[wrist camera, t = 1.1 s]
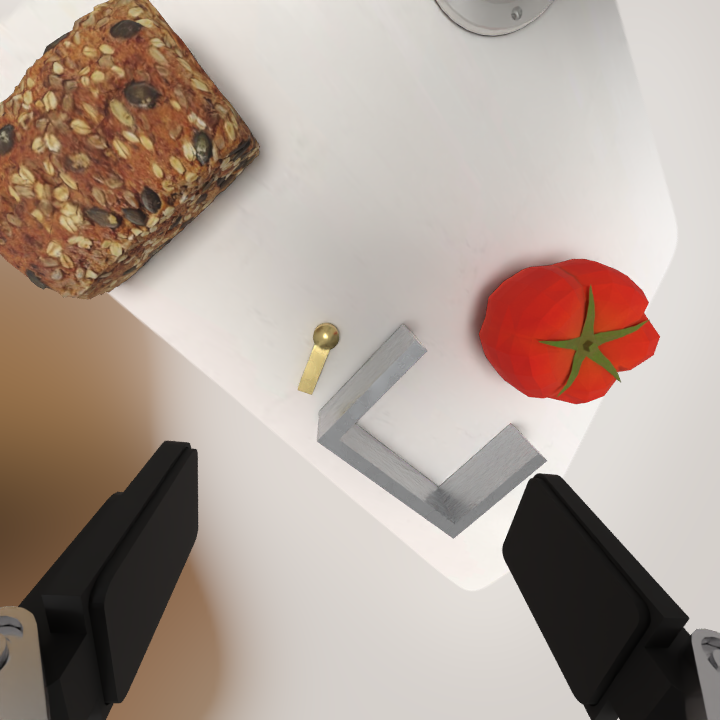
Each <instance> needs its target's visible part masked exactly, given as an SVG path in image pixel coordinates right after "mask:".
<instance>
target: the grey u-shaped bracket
mask: <svg viewBox="0 0 720 720" xmlns="http://www.w3.org/2000/svg"><path fill="white" fill-rule="evenodd" d="M426 352H427V350H426V349H425V347H424V346H423V345H422V344H421V342H420V341H419V340H418V339H417V338H416V336H415V335H414V334H413V333H412V332H411V331H410V330H409V329H408V328H407V327H406V326H405V325H404V324H402V325H401V326H400V327H399V328H398V329H397V330H396V331H395V333H394V334H393V335H392V336H391V337H390V338H389V339H388V340H387V341H386V342H385V343H384V344H383V345H382V346H381V347H380V348H379V349H378V350H377V351H376V352H375V353H374V355H373V356H372V357H371V358H370V359H369V360H368V361H367V362H366V363H365V364H364V365H363V366H362V367H361V368H360V369H359V370H358V371H357V372H356V373H355V374H354V375H353V377H352V378H351V379H350V380H349V381H348V382H347V383H346V384H345V385H344V386H343V387H342V388H341V389H340V390H339V391H338V392H337V393H336V394H335V395H334V396H333V398H332V399H331V400H330V401H329V402H328V403H327V404H326V405H325V406H324V407H323V408H322V409H321V410H320V411H319V421H318V435H317V442H319V443H320V444H322V445H323V446H324V447H326V448H327V449H329V450H330V451H331V452H333V453H334V454H336V455H337V456H338V457H340V458H341V459H343V460H344V461H345V462H347V463H348V464H350V465H351V466H352V467H354V468H355V469H357V470H358V471H359V472H361V473H362V474H364V475H365V476H366V477H368V478H369V479H371V480H372V481H373V482H375V483H376V484H378V485H379V486H380V487H382V488H383V489H385V490H386V491H387V492H389V493H390V494H392V495H393V496H394V497H396V498H397V499H399V500H400V501H401V502H403V503H404V504H406V505H407V506H408V507H410V508H411V509H413V510H414V511H416V512H417V513H418V514H420V515H421V516H423V517H424V518H425V519H427V520H428V521H430V522H431V523H432V524H434V525H435V526H437V527H438V528H439V529H441V530H442V531H444V532H445V533H446V534H448V535H449V536H451V537H452V538H453V539H454V538H455V537H456V536H457V535H458V534H460V533H461V532H462V531H463V530H465V529H466V528H467V527H468V526H469V525H471V524H472V523H473V522H474V521H475V520H477V519H478V518H479V517H480V516H481V515H483V514H484V513H485V512H486V511H487V510H489V509H490V508H491V507H492V506H493V505H495V504H496V503H497V502H498V501H499V500H501V499H502V498H503V497H504V496H505V495H507V494H508V493H509V492H510V491H511V490H513V489H514V488H515V487H516V486H517V485H519V484H520V483H521V482H522V481H523V480H525V479H526V478H527V477H528V476H529V475H531V474H532V473H533V472H534V471H535V470H537V469H538V468H539V467H540V466H541V465H543V464H544V463H545V462H546V461H547V460H546V459H545V458H544V457H543V456H542V455H541V454H540V453H539V451H538V450H537V449H536V448H535V447H534V446H533V445H532V444H531V443H530V442H529V441H528V440H527V439H526V438H525V437H524V436H523V435H522V434H521V433H520V432H519V430H517V429H516V428H515V427H514V426H513V425H512V424H509V425H508V426H507V427H506V428H505V429H504V430H503V431H502V432H500V433H499V434H498V435H497V436H496V437H495V438H494V439H493V440H491V441H490V442H489V443H488V444H487V445H486V446H485V447H483V448H482V449H481V450H480V451H479V452H478V453H477V454H476V455H474V456H473V457H472V458H471V459H470V460H469V461H468V462H466V463H465V464H464V465H463V466H462V467H461V468H460V469H459V470H457V471H456V472H455V473H454V474H453V475H452V476H451V477H450V478H448V479H447V480H446V481H445V482H444V483H443V484H442V485H440V486H439V487H438V486H437V485H436V484H434V483H433V482H432V481H430V480H429V479H428V478H426V477H425V476H424V475H422V474H421V473H420V472H419V471H417V470H416V469H415V468H413V467H412V466H411V465H409V464H408V463H407V462H405V461H404V460H403V459H401V458H400V457H399V456H398V455H396V454H395V453H394V452H392V451H391V450H390V449H388V448H387V447H386V446H384V445H383V444H382V443H380V442H379V441H378V440H377V439H375V438H374V437H373V436H371V435H370V434H369V433H367V432H366V431H365V430H363V429H362V428H361V427H360V426H358V425H357V424H356V422H357V421H358V420H359V419H360V418H361V417H362V416H363V415H364V414H365V413H366V412H367V411H368V410H369V409H370V408H371V407H372V406H373V405H374V404H375V403H376V402H377V401H378V400H379V399H380V398H381V397H382V396H383V395H384V394H385V393H386V392H387V391H388V390H389V389H390V388H391V387H392V386H393V385H394V384H395V383H396V382H397V381H398V380H399V379H400V378H401V377H402V376H403V375H404V374H405V373H406V372H407V371H408V370H409V369H410V368H411V367H412V366H413V365H414V364H415V363H416V362H417V361H418V360H419V359H420V358H421V357H422V356H423V355H424V354H425V353H426Z"/></svg>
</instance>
